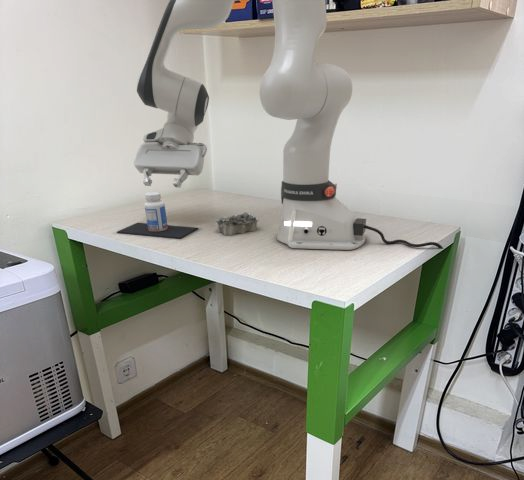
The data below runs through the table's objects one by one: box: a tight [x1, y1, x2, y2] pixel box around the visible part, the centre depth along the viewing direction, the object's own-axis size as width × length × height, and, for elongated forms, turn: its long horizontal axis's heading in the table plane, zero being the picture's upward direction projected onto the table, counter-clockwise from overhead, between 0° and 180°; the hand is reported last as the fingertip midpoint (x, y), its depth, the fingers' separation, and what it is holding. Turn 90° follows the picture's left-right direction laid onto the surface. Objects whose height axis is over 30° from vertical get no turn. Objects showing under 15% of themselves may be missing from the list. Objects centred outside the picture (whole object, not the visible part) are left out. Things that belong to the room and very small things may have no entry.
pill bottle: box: [143, 191, 168, 232], centre depth 130 cm, size 6×5×10 cm
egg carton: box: [214, 211, 260, 236], centre depth 131 cm, size 11×8×4 cm
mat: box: [116, 222, 199, 240], centre depth 133 cm, size 20×10×1 cm, turn 69°
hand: (161, 185), depth 131 cm, fingers open, 8 cm apart
